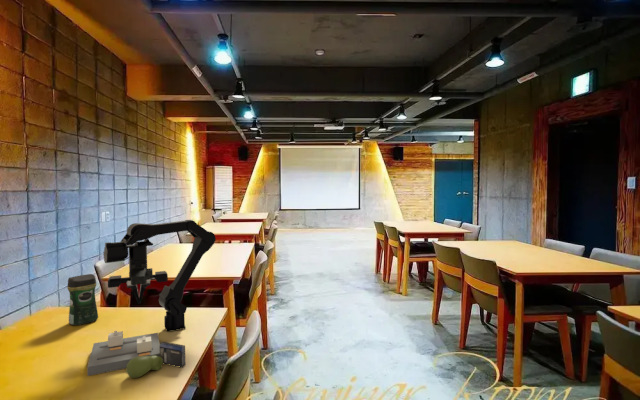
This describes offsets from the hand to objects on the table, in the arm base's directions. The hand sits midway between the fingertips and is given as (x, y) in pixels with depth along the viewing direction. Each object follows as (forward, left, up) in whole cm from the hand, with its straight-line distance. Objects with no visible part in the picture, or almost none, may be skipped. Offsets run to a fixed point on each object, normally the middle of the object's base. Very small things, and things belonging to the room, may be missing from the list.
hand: (139, 303), depth 131 cm
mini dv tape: (-9, +27, -12) cm, 31 cm away
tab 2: (-1, +19, -9) cm, 22 cm away
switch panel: (+4, +15, -12) cm, 20 cm away
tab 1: (+7, +10, -9) cm, 16 cm away
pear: (-1, +29, -12) cm, 32 cm away
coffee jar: (+20, -27, -12) cm, 36 cm away
